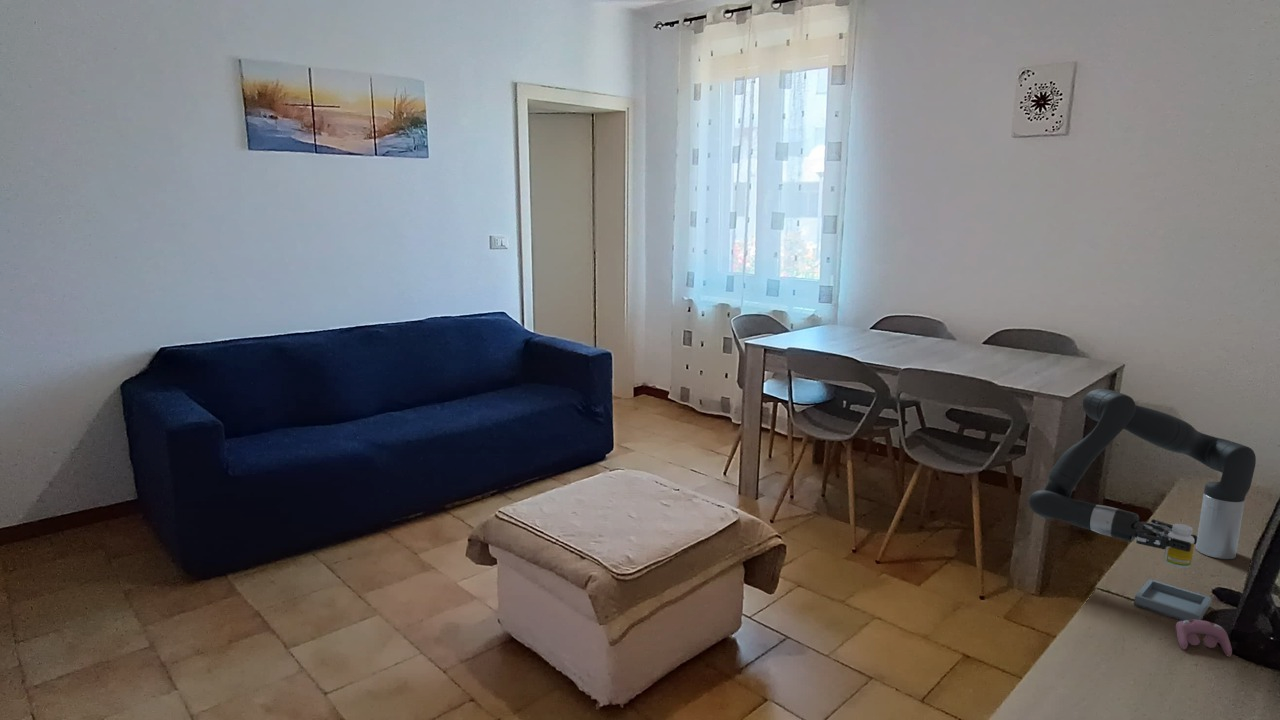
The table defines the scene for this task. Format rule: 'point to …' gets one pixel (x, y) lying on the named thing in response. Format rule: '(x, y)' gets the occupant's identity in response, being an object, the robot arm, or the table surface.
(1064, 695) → the table surface
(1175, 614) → the tray
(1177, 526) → the supplement bottle
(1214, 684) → the table surface
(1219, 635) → the video game controller
